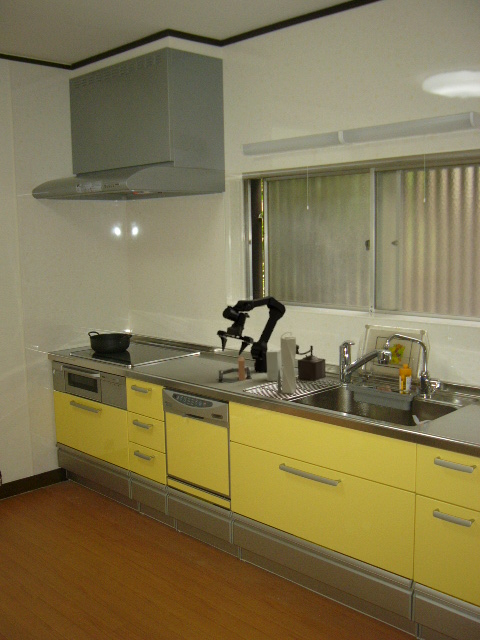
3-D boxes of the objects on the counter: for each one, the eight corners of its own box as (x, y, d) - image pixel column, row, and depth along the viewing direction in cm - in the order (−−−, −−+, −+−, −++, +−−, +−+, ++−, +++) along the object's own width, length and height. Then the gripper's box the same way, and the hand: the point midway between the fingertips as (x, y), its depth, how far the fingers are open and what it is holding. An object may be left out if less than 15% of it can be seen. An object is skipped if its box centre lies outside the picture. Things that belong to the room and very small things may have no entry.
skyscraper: (283, 389, 315) (281, 331, 311) (299, 390, 312) (298, 331, 308) (277, 394, 307) (275, 334, 304) (293, 395, 304) (292, 334, 300)
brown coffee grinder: (308, 374, 345) (307, 340, 342) (326, 376, 338) (325, 341, 335) (290, 380, 333) (289, 344, 331) (308, 382, 326) (307, 346, 323)
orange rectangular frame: (244, 376, 343) (244, 357, 342) (244, 380, 335) (244, 360, 334) (238, 377, 343) (238, 357, 342) (238, 380, 335) (238, 361, 334)
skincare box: (278, 381, 331) (277, 352, 329) (266, 381, 332) (265, 351, 330) (282, 377, 338) (281, 349, 336) (271, 377, 340) (270, 348, 338)
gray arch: (251, 377, 341) (251, 366, 340) (251, 381, 332) (251, 370, 331) (218, 378, 341) (218, 367, 340) (217, 382, 332) (217, 371, 331)
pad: (223, 377, 342) (223, 377, 342) (238, 381, 334) (238, 380, 334) (216, 379, 339) (216, 379, 339) (231, 382, 331) (231, 382, 331)
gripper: (216, 316, 337) (208, 346, 335) (250, 324, 331) (242, 354, 328) (224, 321, 348) (216, 350, 346) (257, 328, 341) (249, 358, 339)
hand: (230, 353), depth 339 cm, fingers open, 9 cm apart
